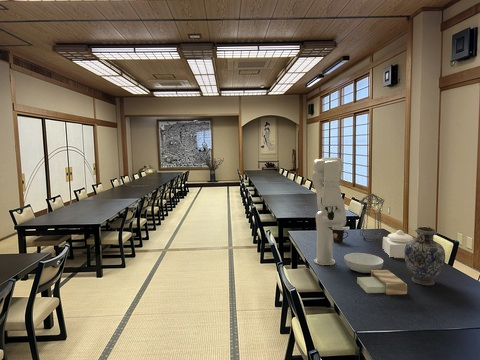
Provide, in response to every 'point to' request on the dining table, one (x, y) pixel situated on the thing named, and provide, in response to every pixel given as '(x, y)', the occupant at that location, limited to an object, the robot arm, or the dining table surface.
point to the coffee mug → (338, 234)
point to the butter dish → (396, 244)
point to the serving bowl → (363, 262)
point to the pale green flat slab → (372, 284)
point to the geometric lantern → (373, 213)
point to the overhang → (390, 282)
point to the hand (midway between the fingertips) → (330, 219)
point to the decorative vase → (424, 257)
